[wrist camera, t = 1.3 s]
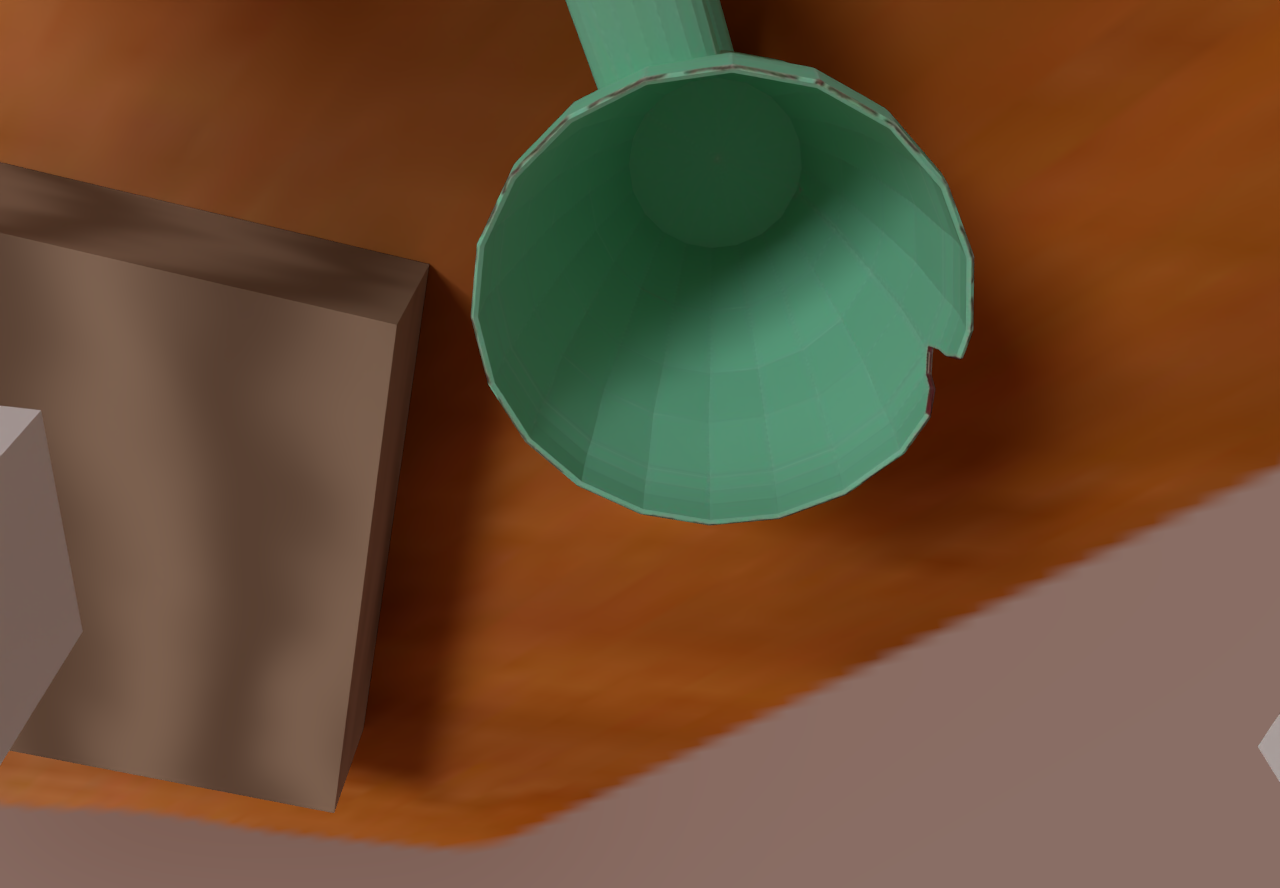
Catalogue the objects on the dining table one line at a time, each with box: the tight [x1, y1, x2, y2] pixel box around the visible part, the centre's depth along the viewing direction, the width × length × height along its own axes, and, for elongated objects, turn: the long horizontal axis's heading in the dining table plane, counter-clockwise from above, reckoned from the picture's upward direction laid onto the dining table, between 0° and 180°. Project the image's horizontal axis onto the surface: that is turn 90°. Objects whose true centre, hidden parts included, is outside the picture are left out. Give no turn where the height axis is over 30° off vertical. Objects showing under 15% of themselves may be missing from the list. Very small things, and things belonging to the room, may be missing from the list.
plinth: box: [0, 162, 429, 813], centre depth 34 cm, size 20×20×4 cm
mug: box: [471, 0, 974, 525], centre depth 24 cm, size 15×10×10 cm
